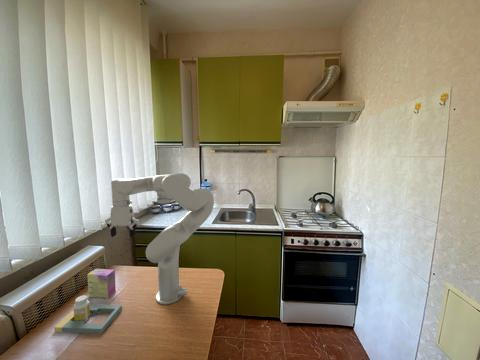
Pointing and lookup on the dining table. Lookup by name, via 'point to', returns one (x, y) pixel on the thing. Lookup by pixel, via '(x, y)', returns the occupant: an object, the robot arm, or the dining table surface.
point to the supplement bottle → (81, 309)
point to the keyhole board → (81, 326)
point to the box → (101, 283)
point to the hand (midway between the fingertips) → (123, 236)
